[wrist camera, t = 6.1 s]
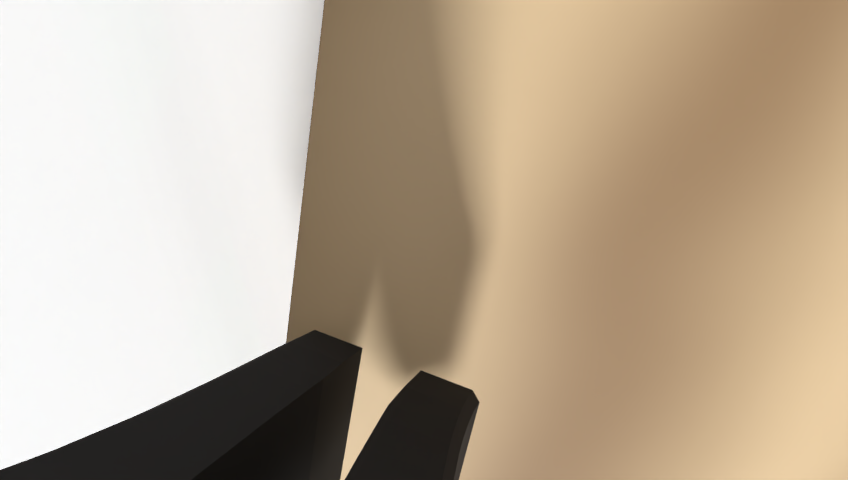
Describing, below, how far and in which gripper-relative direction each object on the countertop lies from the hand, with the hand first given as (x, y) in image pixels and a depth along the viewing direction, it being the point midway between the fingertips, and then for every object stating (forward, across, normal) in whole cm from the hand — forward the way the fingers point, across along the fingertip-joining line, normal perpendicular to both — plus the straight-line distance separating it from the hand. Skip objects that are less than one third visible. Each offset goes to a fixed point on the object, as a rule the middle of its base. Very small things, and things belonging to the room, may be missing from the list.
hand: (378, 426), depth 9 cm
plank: (+4, -2, 0) cm, 4 cm away
